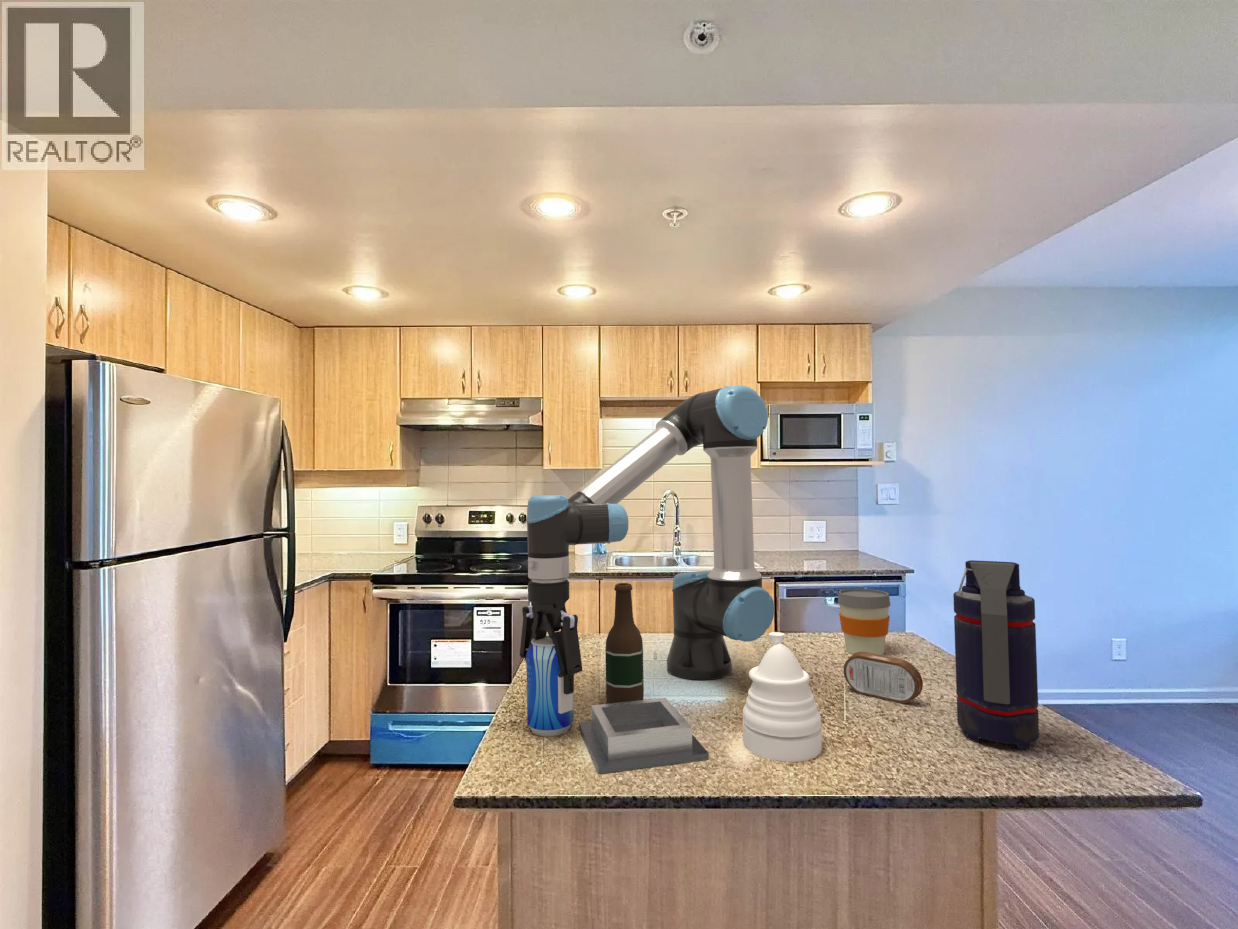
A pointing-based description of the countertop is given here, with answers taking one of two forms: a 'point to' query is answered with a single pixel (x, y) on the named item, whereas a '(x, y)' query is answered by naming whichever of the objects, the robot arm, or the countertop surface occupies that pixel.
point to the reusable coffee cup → (864, 619)
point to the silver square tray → (639, 736)
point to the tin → (883, 677)
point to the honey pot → (781, 708)
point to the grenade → (996, 655)
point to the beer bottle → (624, 652)
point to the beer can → (544, 690)
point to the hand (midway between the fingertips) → (550, 704)
